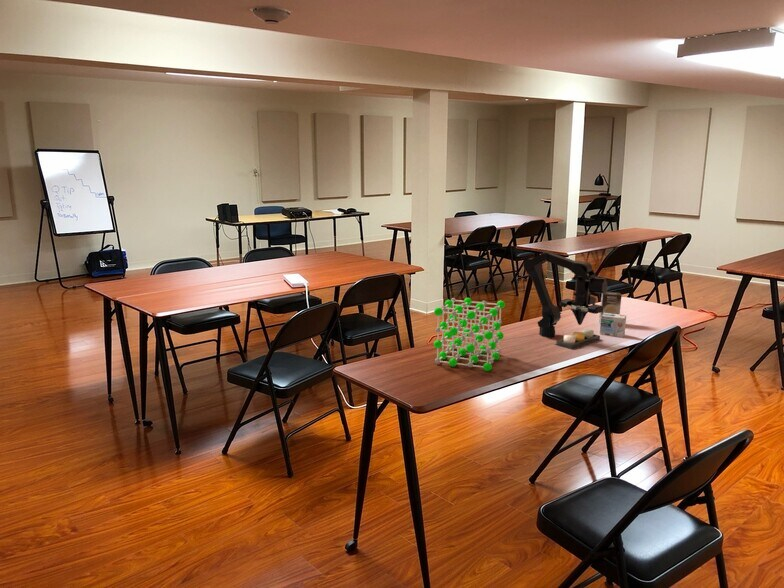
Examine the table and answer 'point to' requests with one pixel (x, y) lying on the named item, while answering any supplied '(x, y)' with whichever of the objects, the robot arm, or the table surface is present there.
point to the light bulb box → (613, 324)
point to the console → (578, 342)
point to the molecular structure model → (469, 332)
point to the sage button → (588, 333)
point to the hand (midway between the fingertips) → (579, 324)
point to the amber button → (579, 336)
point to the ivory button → (569, 339)
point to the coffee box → (610, 303)
